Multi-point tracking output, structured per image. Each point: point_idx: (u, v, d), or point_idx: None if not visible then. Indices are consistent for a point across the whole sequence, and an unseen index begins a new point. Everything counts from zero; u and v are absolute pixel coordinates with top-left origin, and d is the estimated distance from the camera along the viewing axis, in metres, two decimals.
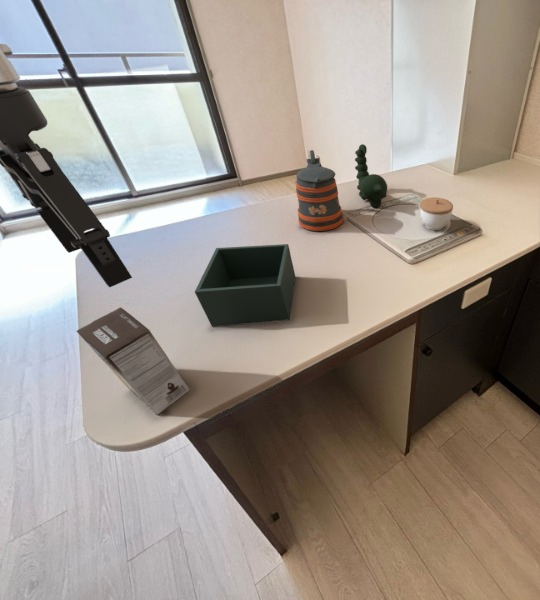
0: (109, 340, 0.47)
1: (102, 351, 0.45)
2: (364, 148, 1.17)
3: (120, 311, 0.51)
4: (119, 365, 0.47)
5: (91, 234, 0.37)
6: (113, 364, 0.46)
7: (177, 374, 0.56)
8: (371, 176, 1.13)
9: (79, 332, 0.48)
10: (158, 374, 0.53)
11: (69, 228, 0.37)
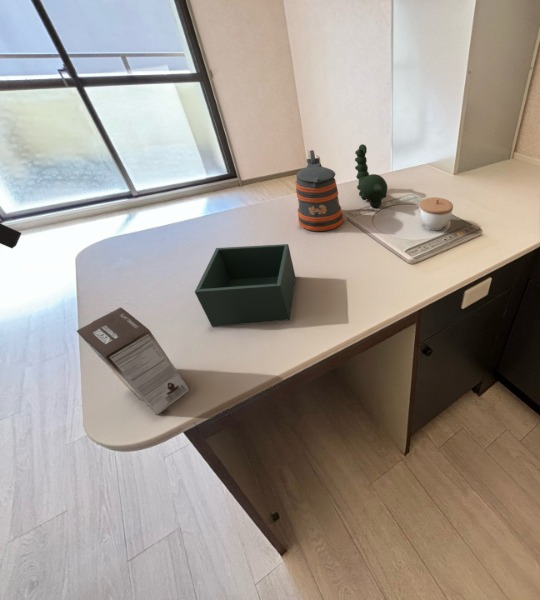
0: (109, 340, 0.47)
1: (102, 351, 0.45)
2: (364, 148, 1.17)
3: (120, 311, 0.51)
4: (119, 365, 0.47)
5: None
6: (113, 364, 0.46)
7: (177, 374, 0.56)
8: (371, 176, 1.13)
9: (79, 332, 0.48)
10: (158, 374, 0.53)
11: None
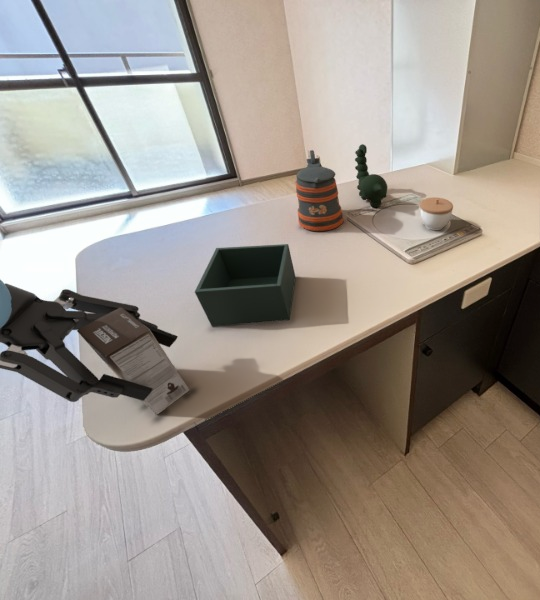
0: (109, 339, 0.47)
1: (102, 351, 0.46)
2: (364, 148, 1.17)
3: (121, 311, 0.51)
4: (119, 364, 0.47)
5: None
6: (113, 364, 0.46)
7: (177, 374, 0.56)
8: (371, 176, 1.13)
9: (79, 332, 0.48)
10: (158, 374, 0.53)
11: None
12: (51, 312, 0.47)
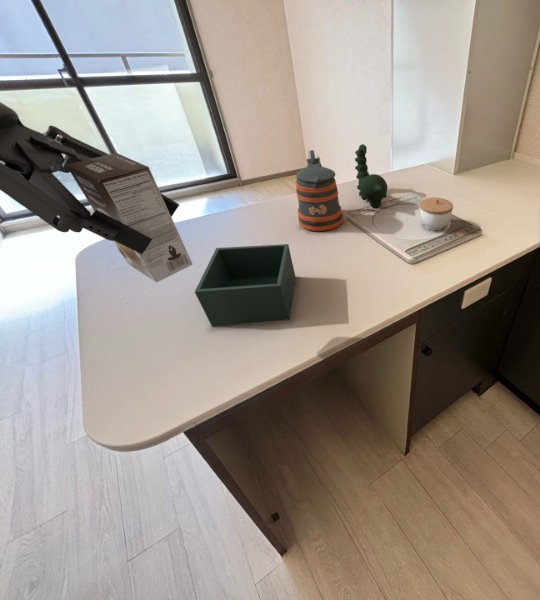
0: (103, 170, 0.41)
1: (95, 177, 0.40)
2: (364, 148, 1.17)
3: (116, 155, 0.46)
4: (114, 198, 0.41)
5: None
6: (107, 195, 0.41)
7: (179, 238, 0.50)
8: (371, 176, 1.13)
9: (69, 165, 0.42)
10: (158, 229, 0.47)
11: None
12: (36, 137, 0.41)
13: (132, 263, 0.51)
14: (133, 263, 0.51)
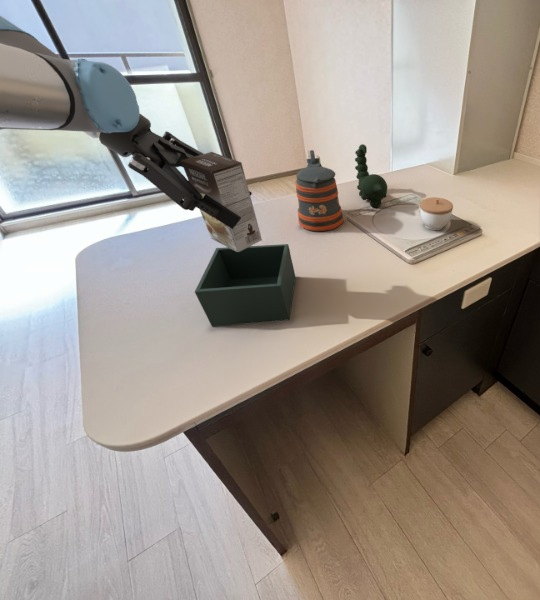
0: (210, 164, 0.56)
1: (207, 169, 0.54)
2: (364, 148, 1.17)
3: (213, 153, 0.60)
4: (219, 185, 0.56)
5: None
6: (215, 182, 0.55)
7: (255, 218, 0.65)
8: (371, 176, 1.13)
9: (183, 161, 0.57)
10: (242, 210, 0.62)
11: None
12: (162, 140, 0.55)
13: (217, 238, 0.65)
14: (219, 238, 0.65)
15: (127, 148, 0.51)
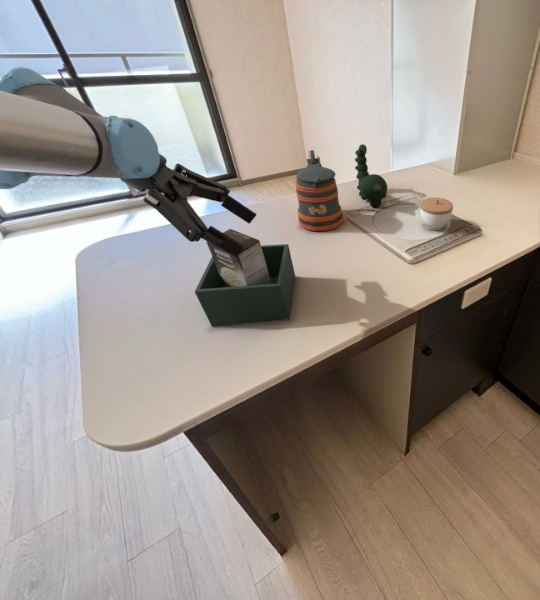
0: None
1: None
2: (364, 148, 1.17)
3: (232, 231, 0.70)
4: (242, 263, 0.65)
5: None
6: (239, 261, 0.65)
7: (270, 281, 0.74)
8: (371, 176, 1.13)
9: None
10: (260, 278, 0.71)
11: (218, 189, 0.67)
12: (177, 175, 0.59)
13: None
14: None
15: (145, 185, 0.55)
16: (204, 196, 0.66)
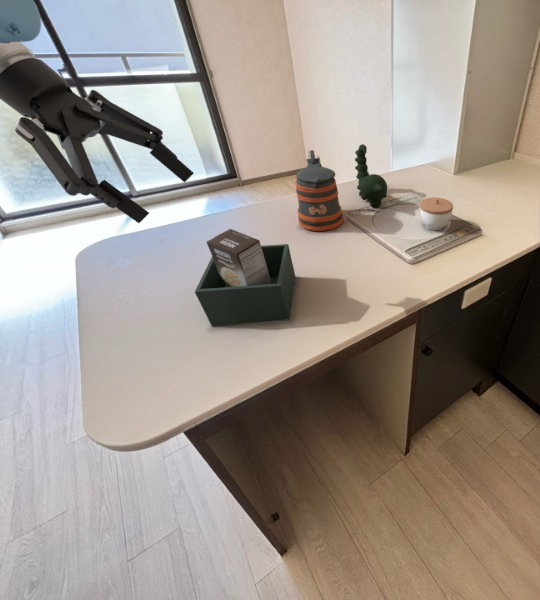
0: (234, 245, 0.65)
1: (233, 251, 0.64)
2: (364, 148, 1.17)
3: (232, 231, 0.70)
4: (242, 263, 0.65)
5: None
6: (239, 261, 0.65)
7: (270, 281, 0.74)
8: (371, 176, 1.13)
9: (209, 242, 0.66)
10: (260, 278, 0.71)
11: (146, 133, 0.55)
12: (80, 106, 0.47)
13: None
14: None
15: (25, 111, 0.43)
16: (125, 138, 0.54)
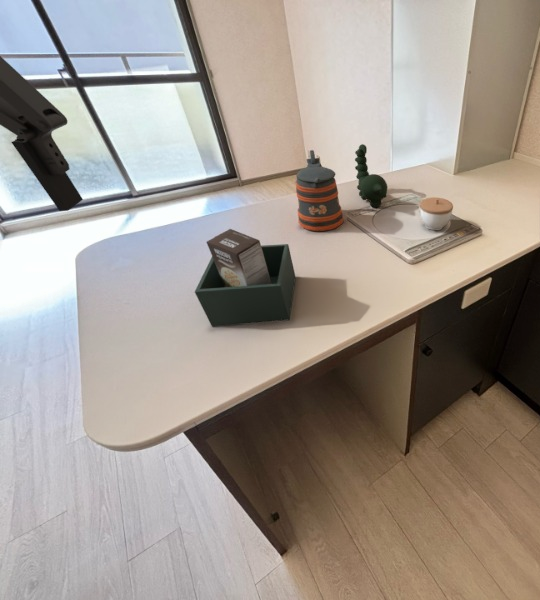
0: (234, 245, 0.65)
1: (233, 251, 0.64)
2: (364, 148, 1.17)
3: (232, 231, 0.70)
4: (242, 263, 0.65)
5: (51, 116, 0.29)
6: (239, 261, 0.65)
7: (270, 281, 0.74)
8: (371, 176, 1.13)
9: (209, 242, 0.66)
10: (260, 278, 0.71)
11: (2, 116, 0.28)
12: None
13: None
14: None
15: None
16: None
